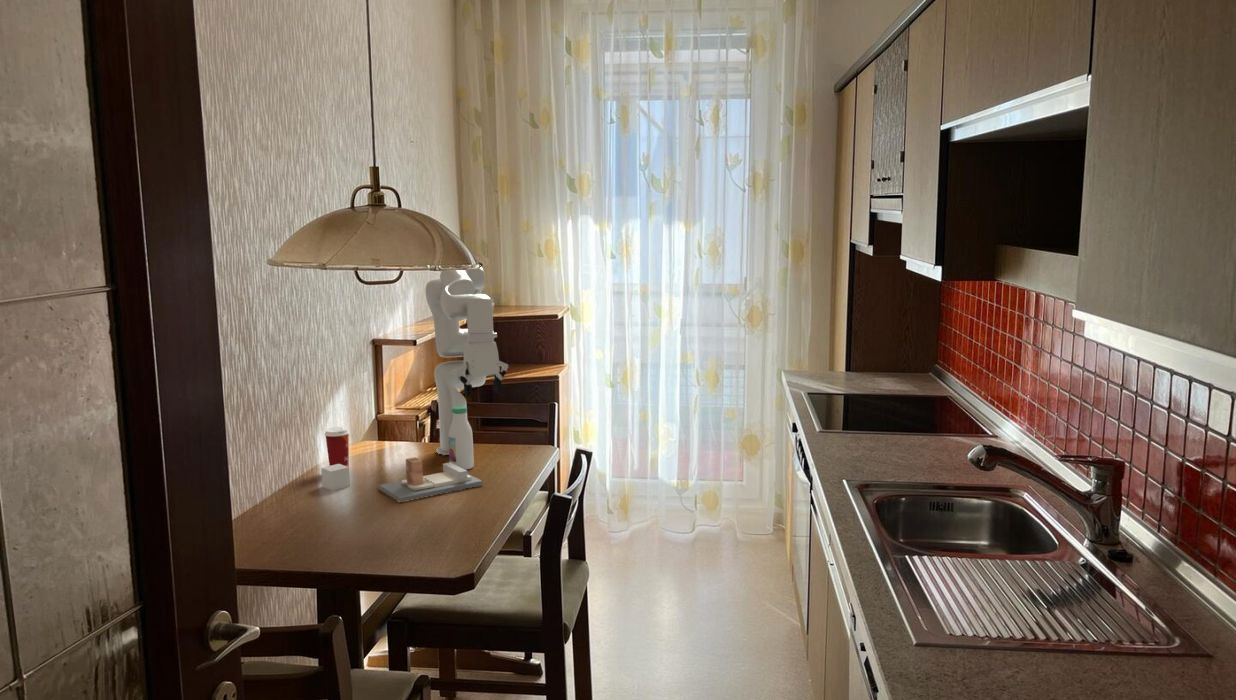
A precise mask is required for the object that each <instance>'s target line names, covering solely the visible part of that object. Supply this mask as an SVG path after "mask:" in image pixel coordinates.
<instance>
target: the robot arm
mask: <svg viewBox="0 0 1236 700" xmlns="http://www.w3.org/2000/svg"><path fill="white" fill-rule="evenodd" d="M486 280H487V279H486V273H485V270H484V269H483V266H481V267H480V268H477V269H469V270H454V271H442V270H441V271H440V274H439V278H436V279H432V280H430V281H428V282H427V283H426V285H425V289H424V290H425V292H424V293H425V298H426V302H427V305H428V307H429V310H430V313H431V315H432V318H433V324H434V325H433V327H434V337H435V347H436V352H437V354H438V356H439V357H442V358H459V357H460V358H462V357H463V360H450V361H445V362H444V361H443V362H440V363H439V364H437V365H436V366H435V368H434V371H433V375H434V381H435V385H436V391H437V402H438V403H437V404H438V419H439V421H438V422H439V444H440V446H439V447H436V449H435V453H436V452H437V453H438V454H437V453H436V454H437V455H439V454H442V455H441V456H445V455H449V429H450V426H451V423H452V420H453V413H452V408H453V407H457V406H464V407H466V408H467V409H468V407H467V404H468V403H467V399H466V398H469V399H472V398H473V388H476V387H477V388H478V387H481V386H483V385H484V384H485V383H486V379H487V377H490V376H492V377H493V378H494V379H493V380H492V381H493V393H495V394H502V381H503V380H504V377H505V375H506V374H507V371H508V368H509V364H508V363H505V362H503V361H501V360H500V356H499V350H498V345H497V342H496V341H495V338H498V334H497V332H495V331H494V320H493V319H494V315H493V313H494V311H493V300H492V298H491V297H489V295H487V294H484V293H482V291H483V290H484V288H485V286H486ZM460 320H461V321H462V320H463V321H464V320H466V323H467V328H461V327H460ZM500 367H501V370H500ZM460 389H463V391H464V393H461V392H460V391H459V390H460ZM463 394H464V395H463ZM464 396H465V397H466V398H465V397H464ZM466 417H467V418H468V413H467V414H466Z"/></svg>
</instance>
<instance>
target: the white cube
mask: <svg viewBox="0 0 1236 700" xmlns="http://www.w3.org/2000/svg"><path fill="white" fill-rule="evenodd" d="M320 472H321V485H322V486H321V487H322V488H324V489H328V490H329V491H336V490H339V489H343V488H347V487H351V479H350V478H351V477H350V476H351V475H350V467H347V466H344V465H341V464H336V465H331V466H323V467H321V468H320Z"/></svg>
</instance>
